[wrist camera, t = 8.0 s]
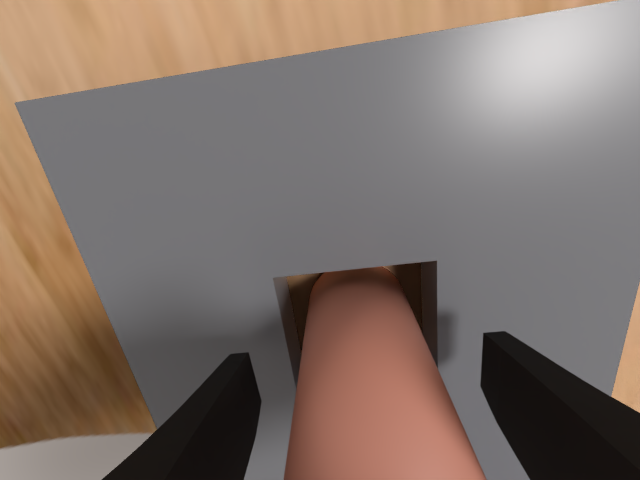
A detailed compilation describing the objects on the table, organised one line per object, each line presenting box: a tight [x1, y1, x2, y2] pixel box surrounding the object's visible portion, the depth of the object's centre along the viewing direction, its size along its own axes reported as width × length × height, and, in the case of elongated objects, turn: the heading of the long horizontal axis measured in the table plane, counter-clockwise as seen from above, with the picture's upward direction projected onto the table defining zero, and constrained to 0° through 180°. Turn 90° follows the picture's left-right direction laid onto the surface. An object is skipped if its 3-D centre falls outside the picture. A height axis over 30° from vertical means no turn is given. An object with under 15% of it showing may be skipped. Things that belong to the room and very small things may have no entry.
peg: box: [283, 266, 487, 480], centre depth 9 cm, size 4×4×8 cm
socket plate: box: [15, 0, 640, 480], centre depth 12 cm, size 18×18×2 cm
